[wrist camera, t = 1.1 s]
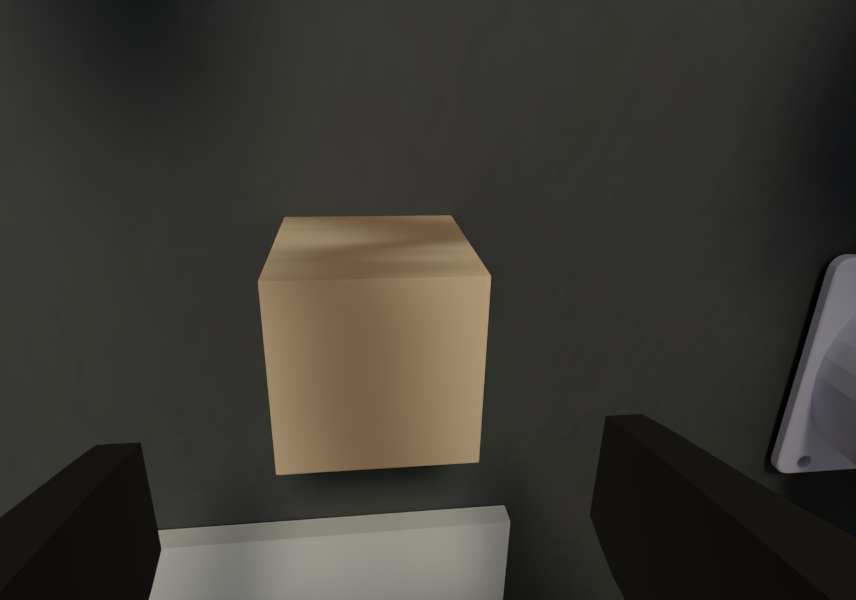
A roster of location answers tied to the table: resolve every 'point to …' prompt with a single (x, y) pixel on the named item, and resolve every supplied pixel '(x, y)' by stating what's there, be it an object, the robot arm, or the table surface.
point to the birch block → (374, 343)
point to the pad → (340, 558)
